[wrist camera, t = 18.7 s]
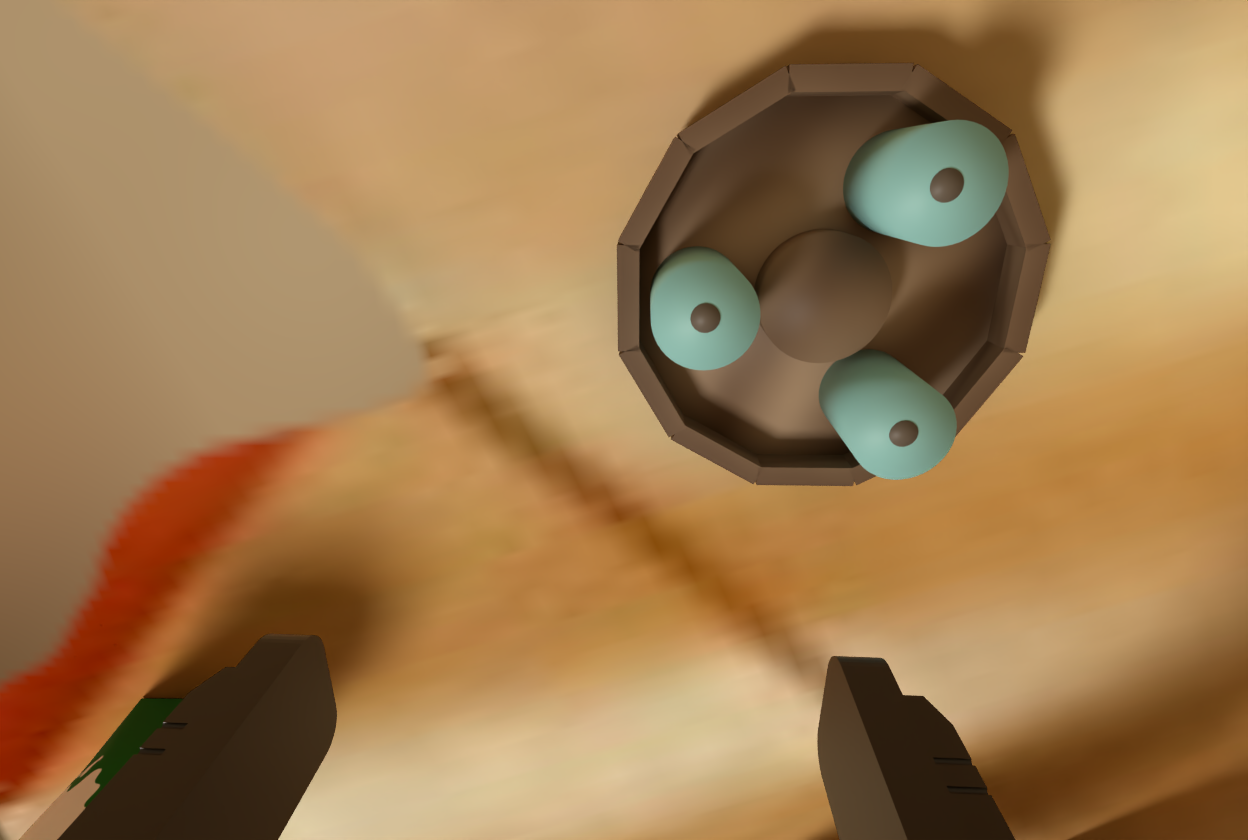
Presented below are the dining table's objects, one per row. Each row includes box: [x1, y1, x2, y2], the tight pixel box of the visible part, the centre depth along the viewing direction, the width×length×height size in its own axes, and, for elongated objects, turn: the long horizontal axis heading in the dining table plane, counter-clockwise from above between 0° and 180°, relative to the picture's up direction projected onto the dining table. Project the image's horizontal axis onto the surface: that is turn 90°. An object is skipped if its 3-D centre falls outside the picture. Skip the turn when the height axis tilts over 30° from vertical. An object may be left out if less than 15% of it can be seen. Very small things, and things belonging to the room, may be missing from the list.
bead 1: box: [650, 246, 760, 370], centre depth 28 cm, size 4×4×6 cm
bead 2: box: [843, 120, 1009, 247], centre depth 26 cm, size 4×4×6 cm
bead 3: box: [819, 349, 957, 480], centre depth 30 cm, size 4×4×6 cm
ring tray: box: [617, 63, 1051, 486], centre depth 30 cm, size 19×19×3 cm
